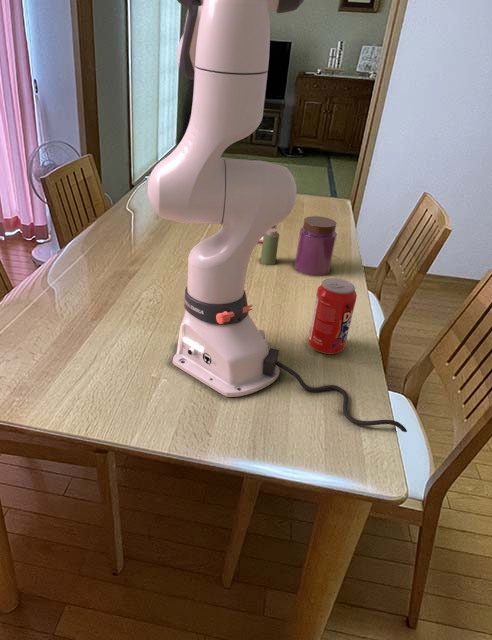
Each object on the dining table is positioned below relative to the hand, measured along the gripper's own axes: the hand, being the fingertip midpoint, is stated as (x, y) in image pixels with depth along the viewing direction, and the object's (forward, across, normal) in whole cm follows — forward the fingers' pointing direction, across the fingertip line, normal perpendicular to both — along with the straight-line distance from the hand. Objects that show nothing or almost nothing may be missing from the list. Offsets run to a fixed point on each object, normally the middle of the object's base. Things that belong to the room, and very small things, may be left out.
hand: (227, 144), depth 131 cm
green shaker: (+31, -1, -16) cm, 35 cm away
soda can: (+27, -36, -44) cm, 63 cm away
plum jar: (+30, +2, -29) cm, 42 cm away
